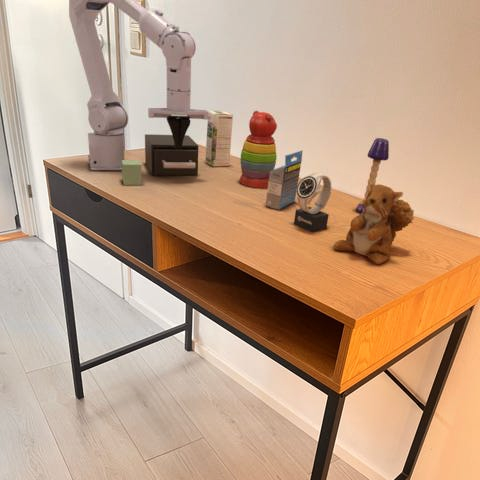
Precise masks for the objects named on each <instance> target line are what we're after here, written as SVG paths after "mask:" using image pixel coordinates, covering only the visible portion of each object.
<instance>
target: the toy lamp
mask: <svg viewBox="0 0 480 480" xmlns="http://www.w3.org/2000/svg"><path fill="white" fill-rule="evenodd" d="M389 152H390V141H389V140H388V139H386V138H380V137H375V138H374V140H373V143H372V145H371V146H370V148H369V150H368V153H367V157H368V158H369V159H371V160H372V165H371V167H370V172H369V178H368V180H367V185H366V188H365V191H364V198H363V200H366V197H367V195H368V193H369V191H370V183H371V182H374V183H375V184H377V183H376V182H377V177H378V172H379V170H380V165H381V161H388V160H389V156H390V155H389V154H390V153H389ZM363 200H362V201H363ZM363 203H364V201H363V202H361V203H360V204H359V203H358V204H359V206H357V205H356V208H355V211H356V212H357V213H359V214H360V215H361V214H362V212H363V211H364V210H365V204H364V205H363V206H362V204H363ZM361 206H362V208H361ZM360 208H361V210H359V209H360Z"/></svg>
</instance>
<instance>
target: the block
mask: <svg viewBox="0 0 480 480" xmlns="http://www.w3.org/2000/svg"><path fill="white" fill-rule="evenodd" d="M121 161H122V170H121V180H122V183H123V185H124V186H142V185H143V170H142V163H141V161H140V159H125V160H121Z"/></svg>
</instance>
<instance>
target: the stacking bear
mask: <svg viewBox="0 0 480 480" xmlns="http://www.w3.org/2000/svg"><path fill="white" fill-rule="evenodd" d="M248 127H249V132H250V134H248V135H247V137H246V138H245V140H244V141H243V145H242V149H241V153H240V169H241V175H240V177H239V183H240V184H241V185H244V186H246V187H250V188H261V189H263V188H264V189H268V183H269V175H270V171H271V170H274V169H276V163H277V146H276V143H275V141H276V140H275V138H274V137H273V135H274V134H275V132H276V131H277V128H278V123H277V122H276V120H275V118H274V116H273V115H272V114H271V113H269V112H265V111H258V110H254V111H253V113H252V116H251V117H250V119H249V124H248Z"/></svg>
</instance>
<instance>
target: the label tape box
mask: <svg viewBox="0 0 480 480" xmlns="http://www.w3.org/2000/svg"><path fill="white" fill-rule="evenodd" d="M294 158H296V159H295V160H292V159H294ZM302 159H303V150H298V151H296V152H292V153H289V154H285V155H284V165H282V166H279V167H277V168H276V167H275V168H274V170H271V171H270V175H269V183H268V188H267V191H266V199H265V207H268V208H271V209H274V210H281V209H283V208H285V207H286V206H288V205H290V204H292V203H294V202H295V201H296V198H297V192H296V191H297V190H296V189H297V185H298V184H299V180H300V179H299V178H300V172H301V168H302V167H301V166H302V161H303V160H302Z"/></svg>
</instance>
